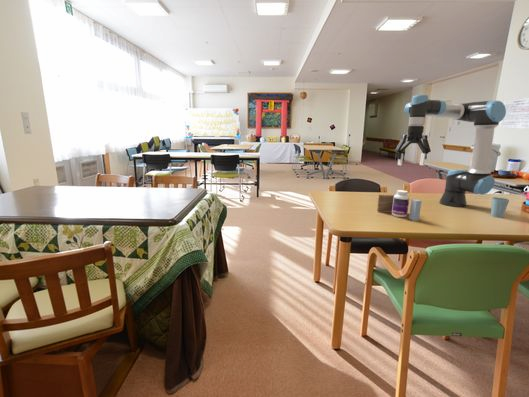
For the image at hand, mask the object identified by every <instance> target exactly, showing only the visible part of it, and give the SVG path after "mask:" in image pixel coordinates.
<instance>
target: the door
mask: <svg viewBox="0 0 529 397" xmlns="http://www.w3.org/2000/svg"><path fill="white" fill-rule="evenodd" d="M393 199H394V194H378V199H377V207H376V208H377V209H376V211H377V212H379V213H381V212H382V213H383V212H387V213H392V207H393Z"/></svg>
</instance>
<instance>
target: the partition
mask: <svg viewBox="0 0 529 397" xmlns="http://www.w3.org/2000/svg"><path fill="white" fill-rule="evenodd" d="M396 194H397V192H394V193H393V195H396ZM422 202H423V201H422V200H421V199H417V198H416V199H415V198H413V199H411V202H410V208H409V216H408V219H409V220H411V221H413V222H419V220H420V216H421V215H420V214H421V206H422Z"/></svg>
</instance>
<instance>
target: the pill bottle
mask: <svg viewBox="0 0 529 397" xmlns="http://www.w3.org/2000/svg"><path fill="white" fill-rule="evenodd" d="M396 193H397V194H396V195H394V194H393V195H394V199H393V207H392V212H391V215H392V216H393V217H396V218H406V217H407V216H408V212H409V211H408V210H409V204H410V196H409V195H408V193H409V192H408V191H407V190H402V189H397V190H396Z"/></svg>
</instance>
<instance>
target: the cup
mask: <svg viewBox="0 0 529 397" xmlns="http://www.w3.org/2000/svg"><path fill="white" fill-rule="evenodd" d="M509 202H510V199H508V198H505V197H504V198H503V197H496V196H495V197H494V196H493V197H491V210H490V216H491V217H494V218H498V219H499V218H501V219H502V218H504V216H505V215H504V214H505V213H506V210H507V207H508V204H509Z"/></svg>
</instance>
